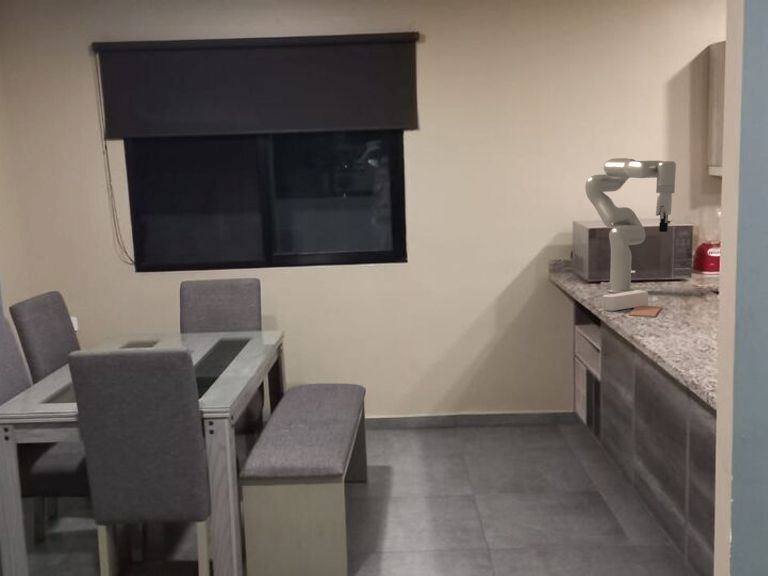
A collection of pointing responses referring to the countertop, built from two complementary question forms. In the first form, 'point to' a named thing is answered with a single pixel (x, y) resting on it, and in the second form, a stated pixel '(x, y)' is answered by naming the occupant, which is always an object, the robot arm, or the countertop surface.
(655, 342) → the countertop surface
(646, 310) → the mat
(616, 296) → the milk
